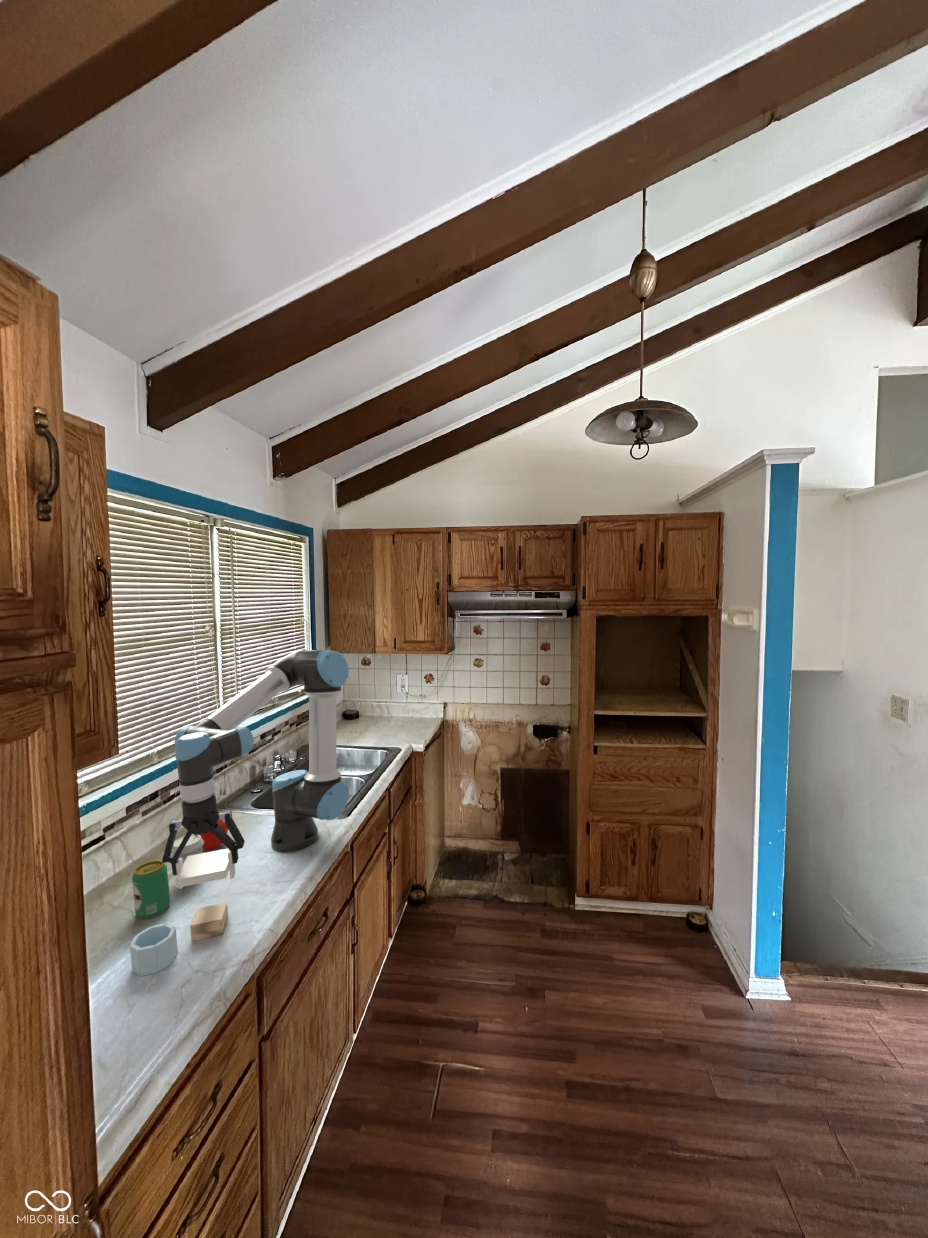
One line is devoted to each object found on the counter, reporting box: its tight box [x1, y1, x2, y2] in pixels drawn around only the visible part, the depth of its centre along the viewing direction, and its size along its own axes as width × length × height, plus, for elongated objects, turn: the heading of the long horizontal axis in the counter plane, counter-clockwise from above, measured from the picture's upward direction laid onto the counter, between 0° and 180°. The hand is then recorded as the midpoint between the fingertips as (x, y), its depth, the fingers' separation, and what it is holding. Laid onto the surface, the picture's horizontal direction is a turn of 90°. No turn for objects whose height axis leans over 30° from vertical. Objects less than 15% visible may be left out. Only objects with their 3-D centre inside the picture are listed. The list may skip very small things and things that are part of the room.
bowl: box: [129, 922, 179, 977], centre depth 115 cm, size 8×8×6 cm
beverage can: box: [131, 859, 171, 920], centre depth 135 cm, size 8×8×12 cm
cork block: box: [189, 902, 229, 942], centre depth 126 cm, size 7×7×4 cm
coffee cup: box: [171, 834, 204, 864], centre depth 149 cm, size 8×8×12 cm
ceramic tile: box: [174, 848, 230, 889], centre depth 125 cm, size 11×11×2 cm
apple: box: [199, 818, 229, 852], centre depth 168 cm, size 10×10×12 cm
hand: (207, 880), depth 126 cm, fingers closed on ceramic tile, 11 cm apart
